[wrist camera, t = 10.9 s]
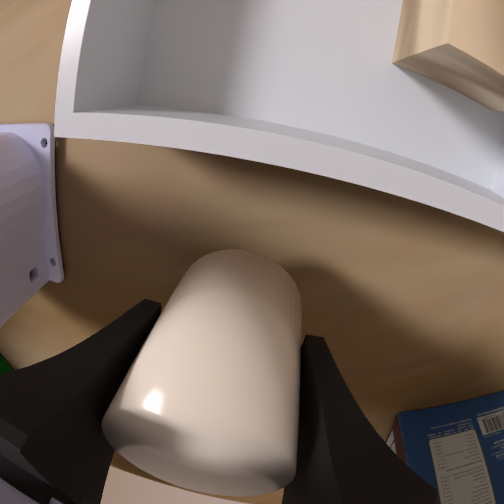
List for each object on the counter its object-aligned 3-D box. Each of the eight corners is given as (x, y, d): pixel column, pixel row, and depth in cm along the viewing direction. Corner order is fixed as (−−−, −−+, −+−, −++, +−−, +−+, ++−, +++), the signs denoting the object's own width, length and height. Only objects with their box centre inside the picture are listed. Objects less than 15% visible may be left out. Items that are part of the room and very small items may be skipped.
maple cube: (391, 62, 10) (447, 43, 5) (407, -33, 7) (453, -83, 3) (490, 109, 9) (566, 124, 5) (502, 17, 7) (570, 3, 3)
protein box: (499, 438, 21) (526, 552, 7) (371, 468, 23) (373, 606, 10) (543, 374, 16) (597, 510, 3) (395, 410, 19) (415, 608, 5)
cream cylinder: (287, 358, 14) (273, 504, 7) (179, 336, 14) (121, 468, 8) (314, 263, 11) (323, 436, 5) (180, 238, 12) (80, 377, 5)
